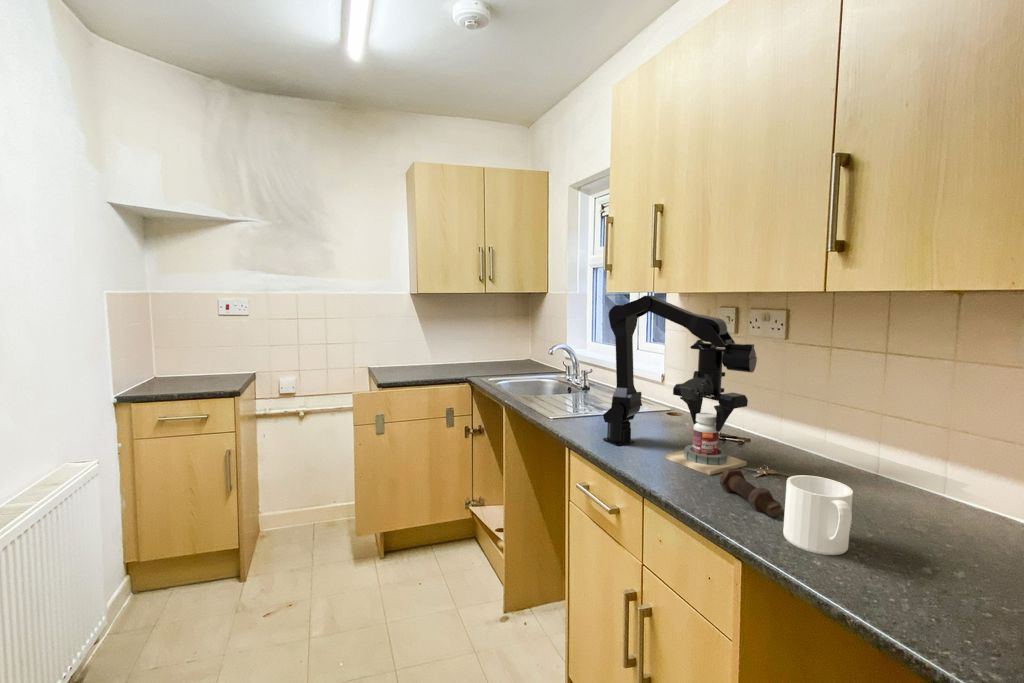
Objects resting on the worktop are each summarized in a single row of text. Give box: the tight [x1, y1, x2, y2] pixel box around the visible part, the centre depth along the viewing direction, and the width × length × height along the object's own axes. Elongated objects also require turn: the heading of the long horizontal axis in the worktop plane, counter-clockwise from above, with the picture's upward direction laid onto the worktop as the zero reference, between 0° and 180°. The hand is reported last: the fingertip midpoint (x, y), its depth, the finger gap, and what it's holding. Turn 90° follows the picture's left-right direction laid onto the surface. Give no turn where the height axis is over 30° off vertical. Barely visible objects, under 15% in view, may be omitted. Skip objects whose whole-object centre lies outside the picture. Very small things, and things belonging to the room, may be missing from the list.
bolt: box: [719, 468, 783, 517], centre depth 107 cm, size 6×5×15 cm
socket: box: [664, 444, 748, 476], centre depth 133 cm, size 14×14×3 cm
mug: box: [782, 474, 854, 556], centre depth 90 cm, size 13×10×10 cm
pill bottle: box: [692, 412, 720, 455], centre depth 132 cm, size 6×6×11 cm
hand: (706, 427), depth 132 cm, fingers open, 7 cm apart
